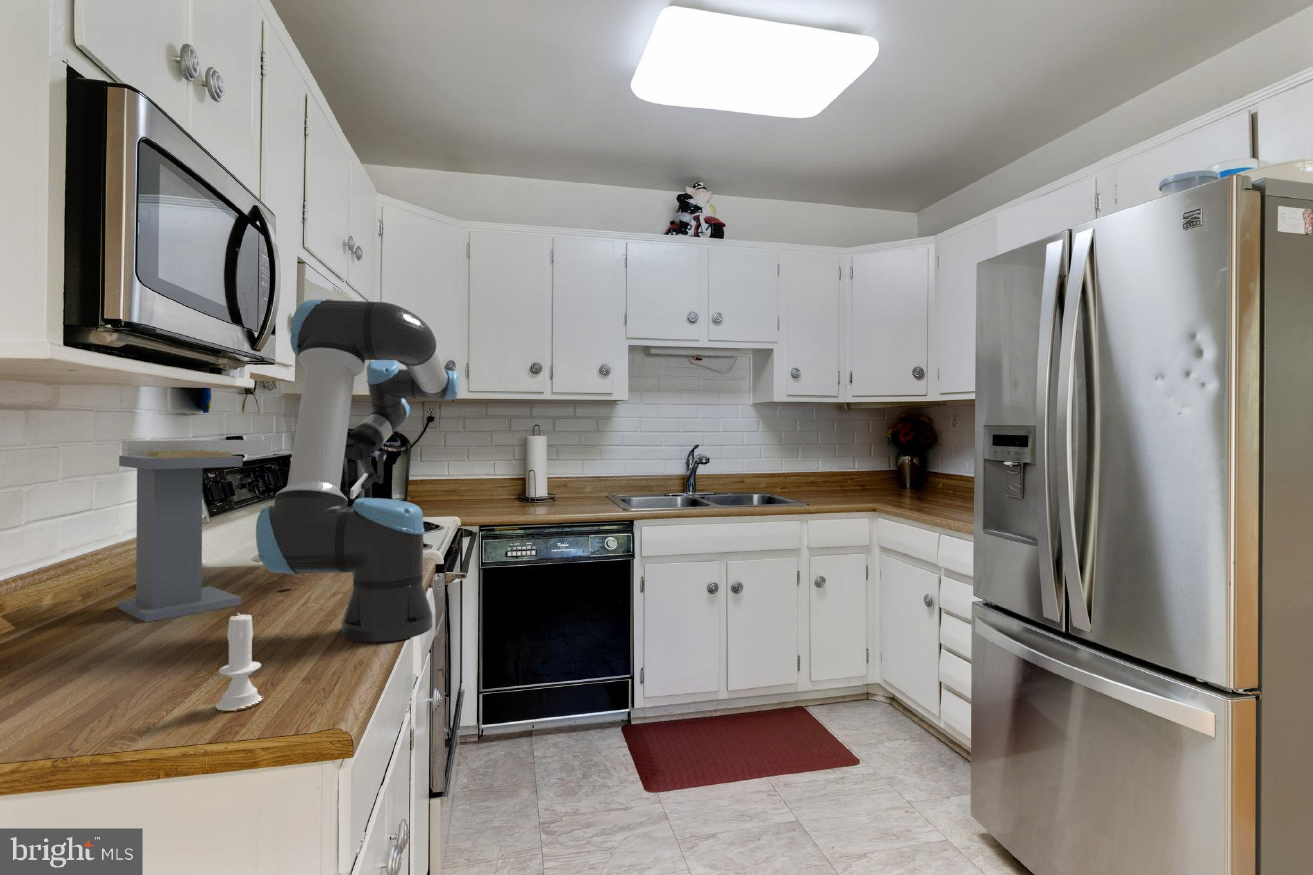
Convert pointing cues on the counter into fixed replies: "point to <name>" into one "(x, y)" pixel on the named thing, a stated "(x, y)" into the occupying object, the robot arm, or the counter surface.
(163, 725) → the counter surface
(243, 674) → the candle
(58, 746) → the counter surface
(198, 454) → the bracket
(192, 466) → the stand
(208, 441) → the rod
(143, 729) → the counter surface
